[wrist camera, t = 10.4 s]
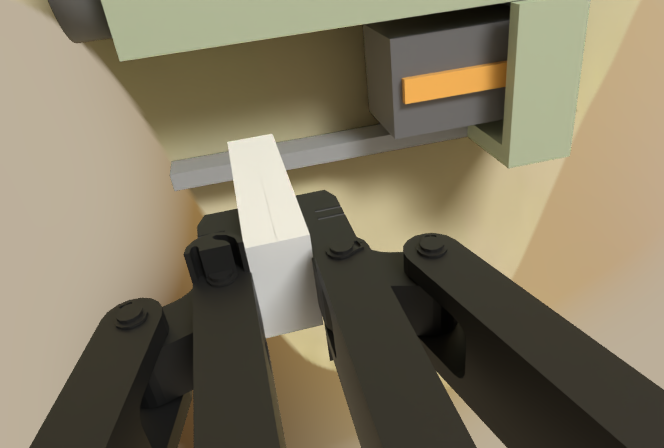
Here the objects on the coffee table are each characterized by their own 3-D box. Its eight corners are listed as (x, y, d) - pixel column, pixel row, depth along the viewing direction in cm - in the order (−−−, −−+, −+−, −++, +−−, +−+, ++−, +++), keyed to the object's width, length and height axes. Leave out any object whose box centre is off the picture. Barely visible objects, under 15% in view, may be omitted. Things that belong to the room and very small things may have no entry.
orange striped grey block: (369, 111, 31) (397, 141, 27) (362, 23, 29) (392, 41, 24) (493, 89, 32) (541, 115, 28) (497, 2, 30) (551, 15, 25)
